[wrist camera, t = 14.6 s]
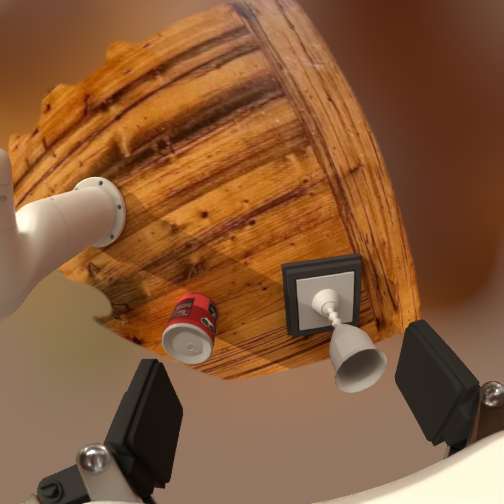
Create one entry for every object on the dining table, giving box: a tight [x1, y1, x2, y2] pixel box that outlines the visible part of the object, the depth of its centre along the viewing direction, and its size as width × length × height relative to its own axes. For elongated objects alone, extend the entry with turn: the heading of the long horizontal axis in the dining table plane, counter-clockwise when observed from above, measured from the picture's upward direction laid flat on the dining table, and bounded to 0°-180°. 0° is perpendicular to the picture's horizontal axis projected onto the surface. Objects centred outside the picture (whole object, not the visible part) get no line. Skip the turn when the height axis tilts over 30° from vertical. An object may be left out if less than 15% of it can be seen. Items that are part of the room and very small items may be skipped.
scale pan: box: [295, 270, 354, 331], centre depth 47 cm, size 10×10×2 cm
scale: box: [281, 253, 361, 337], centre depth 47 cm, size 14×14×3 cm
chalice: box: [312, 289, 387, 392], centre depth 37 cm, size 7×7×18 cm
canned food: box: [162, 293, 218, 365], centre depth 44 cm, size 8×8×11 cm
